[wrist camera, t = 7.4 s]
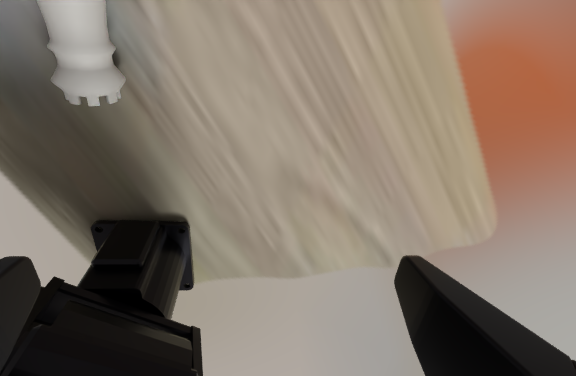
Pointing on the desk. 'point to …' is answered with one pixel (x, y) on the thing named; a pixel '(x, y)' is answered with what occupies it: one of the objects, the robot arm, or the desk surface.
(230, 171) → the desk surface
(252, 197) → the desk surface
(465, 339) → the robot arm
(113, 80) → the rook chess piece
